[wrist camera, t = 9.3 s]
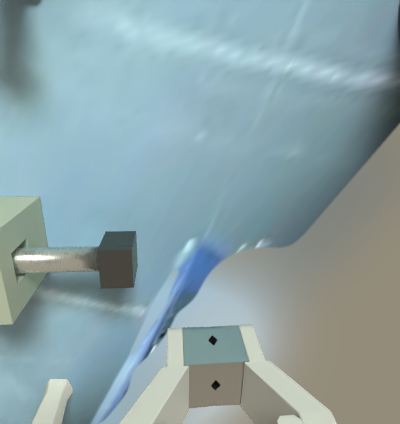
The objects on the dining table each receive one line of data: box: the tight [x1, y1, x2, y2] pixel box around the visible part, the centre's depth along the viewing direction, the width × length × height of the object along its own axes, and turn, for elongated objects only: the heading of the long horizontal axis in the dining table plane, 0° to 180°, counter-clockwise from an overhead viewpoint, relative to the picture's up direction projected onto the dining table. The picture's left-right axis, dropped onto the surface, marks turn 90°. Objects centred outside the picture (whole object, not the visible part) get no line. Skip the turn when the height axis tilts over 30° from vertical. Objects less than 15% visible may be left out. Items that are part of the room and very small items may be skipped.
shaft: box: [11, 231, 137, 288], centre depth 29 cm, size 21×4×4 cm, turn 88°
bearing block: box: [0, 196, 48, 325], centre depth 30 cm, size 5×9×10 cm, turn 178°
